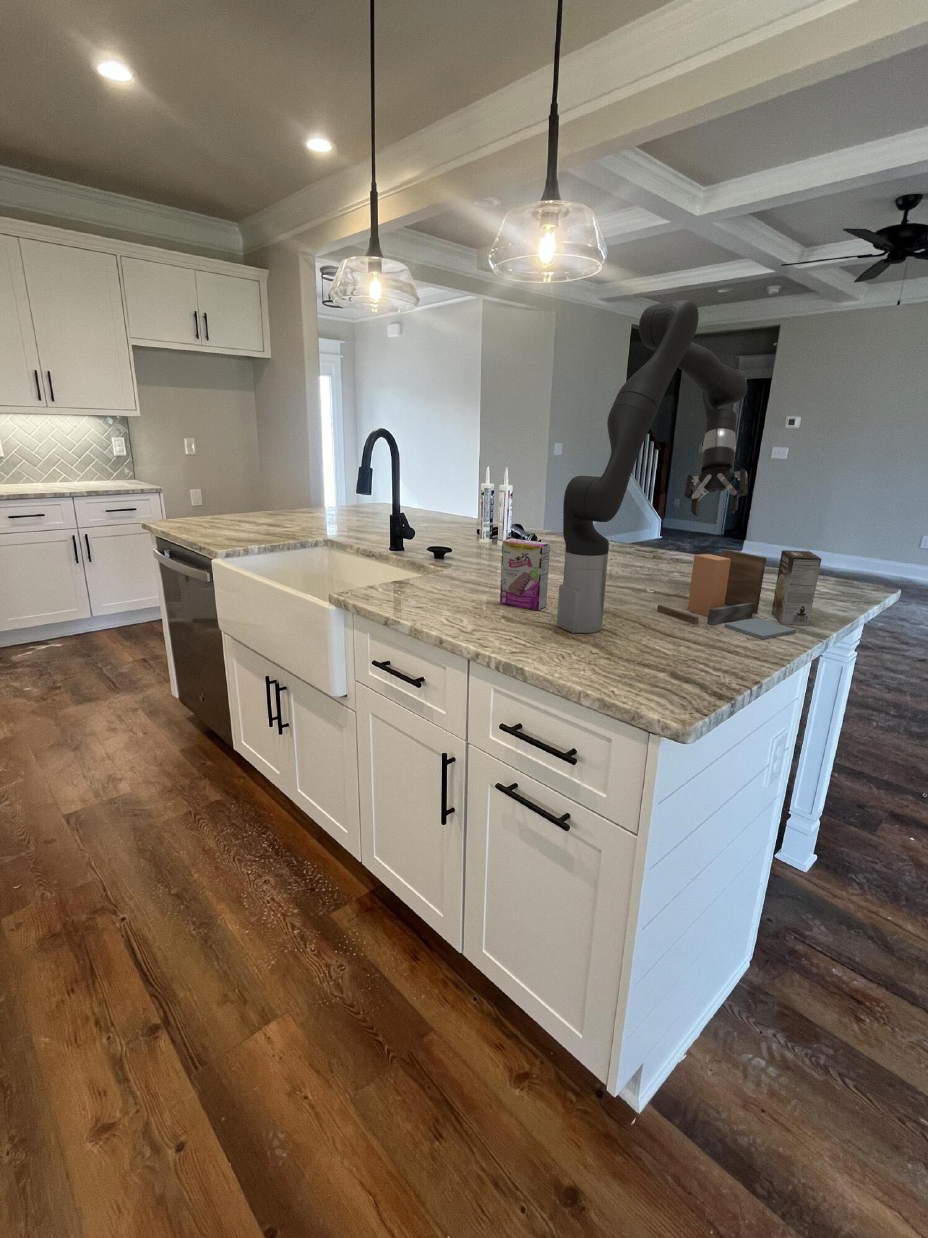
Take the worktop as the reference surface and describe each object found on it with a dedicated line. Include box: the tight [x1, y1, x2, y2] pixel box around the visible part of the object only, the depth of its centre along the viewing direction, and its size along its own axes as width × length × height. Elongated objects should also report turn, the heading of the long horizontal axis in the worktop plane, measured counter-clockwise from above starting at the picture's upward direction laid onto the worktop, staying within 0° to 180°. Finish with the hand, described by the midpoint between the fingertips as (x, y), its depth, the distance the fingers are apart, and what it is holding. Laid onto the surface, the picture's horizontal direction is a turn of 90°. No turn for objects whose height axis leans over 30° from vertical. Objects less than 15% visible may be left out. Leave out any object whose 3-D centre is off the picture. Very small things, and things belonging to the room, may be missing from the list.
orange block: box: [686, 553, 731, 618], centre depth 148 cm, size 4×7×14 cm, turn 27°
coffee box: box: [771, 549, 822, 627], centre depth 143 cm, size 9×6×16 cm
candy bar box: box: [499, 538, 551, 611], centre depth 151 cm, size 11×5×16 cm, turn 58°
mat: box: [723, 617, 797, 640], centre depth 137 cm, size 11×10×1 cm
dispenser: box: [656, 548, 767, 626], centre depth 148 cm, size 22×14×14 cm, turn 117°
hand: (713, 513), depth 149 cm, fingers open, 8 cm apart
